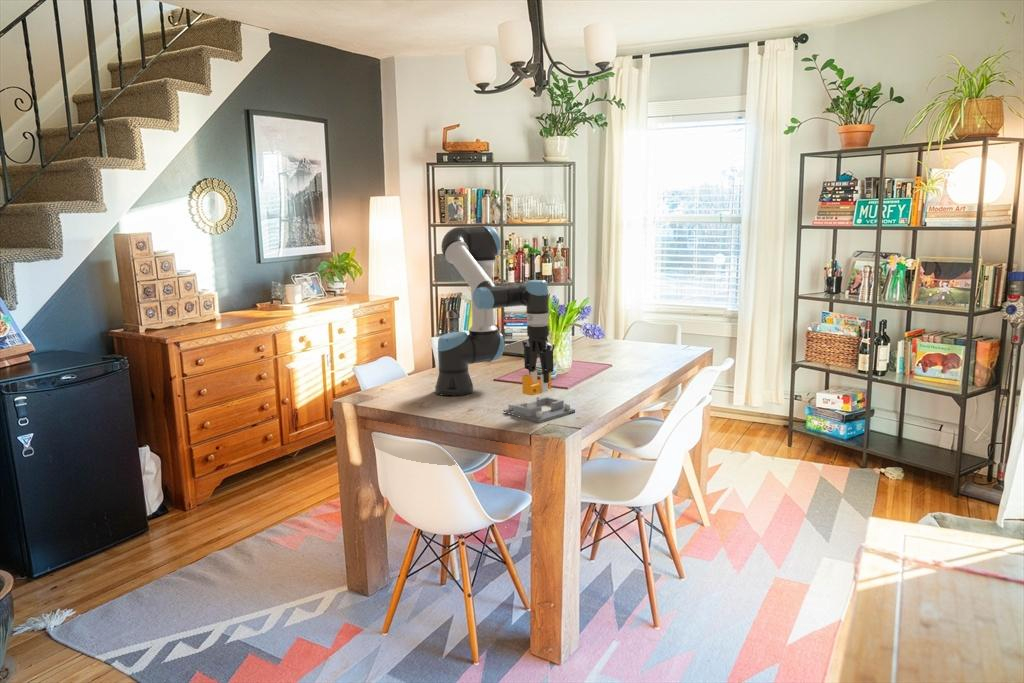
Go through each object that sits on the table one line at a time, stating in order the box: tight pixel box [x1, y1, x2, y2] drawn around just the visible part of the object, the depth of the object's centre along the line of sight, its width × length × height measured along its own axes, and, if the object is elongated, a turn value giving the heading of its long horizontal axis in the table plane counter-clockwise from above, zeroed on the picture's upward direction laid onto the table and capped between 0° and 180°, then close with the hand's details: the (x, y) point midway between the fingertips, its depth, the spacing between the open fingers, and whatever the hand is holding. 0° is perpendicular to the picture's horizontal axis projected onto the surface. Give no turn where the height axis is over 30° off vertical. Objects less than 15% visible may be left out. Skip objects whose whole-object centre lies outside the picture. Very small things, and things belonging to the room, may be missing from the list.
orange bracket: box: [521, 372, 552, 396], centre depth 255 cm, size 12×4×6 cm, turn 135°
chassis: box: [502, 396, 576, 424], centre depth 257 cm, size 18×18×4 cm
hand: (539, 390), depth 256 cm, fingers closed on orange bracket, 4 cm apart
